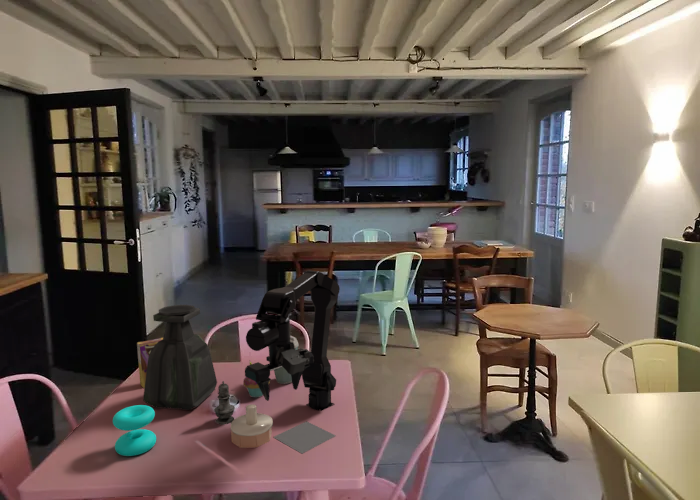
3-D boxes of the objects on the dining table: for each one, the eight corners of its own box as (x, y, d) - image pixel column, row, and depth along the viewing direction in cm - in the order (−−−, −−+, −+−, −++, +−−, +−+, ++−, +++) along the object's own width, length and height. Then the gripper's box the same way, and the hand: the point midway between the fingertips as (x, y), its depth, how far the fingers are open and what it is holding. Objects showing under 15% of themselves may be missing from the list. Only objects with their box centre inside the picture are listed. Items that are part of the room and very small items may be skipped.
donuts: (139, 400, 131) (162, 408, 126) (141, 434, 132) (164, 444, 127) (104, 414, 122) (127, 424, 117) (107, 451, 124) (130, 462, 118)
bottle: (219, 391, 160) (215, 303, 156) (195, 414, 144) (190, 316, 140) (170, 388, 163) (165, 301, 159) (141, 409, 147) (134, 314, 143)
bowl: (256, 426, 136) (256, 413, 135) (278, 439, 129) (277, 425, 128) (225, 440, 129) (224, 426, 128) (247, 454, 122) (246, 439, 121)
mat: (306, 423, 137) (306, 421, 137) (336, 437, 129) (336, 435, 129) (273, 439, 129) (273, 437, 129) (302, 455, 121) (302, 453, 120)
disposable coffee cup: (297, 386, 163) (296, 344, 161) (266, 387, 163) (264, 344, 161) (301, 374, 173) (300, 334, 171) (271, 375, 173) (270, 334, 172)
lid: (256, 412, 136) (256, 394, 135) (280, 425, 128) (280, 406, 128) (222, 426, 128) (221, 407, 127) (246, 440, 120) (245, 420, 120)
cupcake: (247, 401, 152) (246, 365, 150) (240, 391, 159) (239, 357, 158) (273, 396, 156) (272, 360, 154) (265, 386, 163) (264, 352, 162)
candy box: (165, 378, 171) (163, 336, 170) (169, 381, 168) (167, 339, 166) (139, 384, 166) (136, 341, 164) (142, 388, 163) (139, 345, 161)
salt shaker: (229, 426, 136) (228, 385, 135) (210, 424, 137) (208, 384, 136) (238, 416, 142) (237, 377, 140) (220, 414, 143) (218, 376, 142)
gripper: (267, 355, 114) (270, 417, 116) (326, 336, 127) (327, 392, 129) (242, 344, 122) (245, 402, 124) (299, 328, 134) (301, 380, 137)
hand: (281, 394), depth 128 cm, fingers open, 9 cm apart
